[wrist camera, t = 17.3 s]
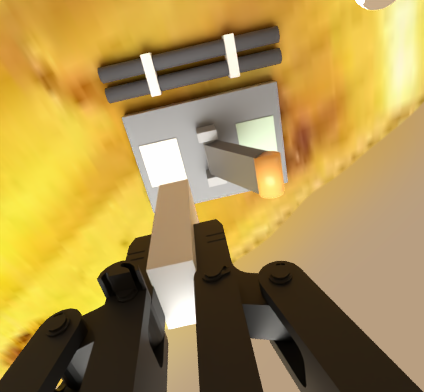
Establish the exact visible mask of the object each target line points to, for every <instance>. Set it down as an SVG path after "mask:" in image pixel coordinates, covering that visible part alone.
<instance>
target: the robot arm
mask: <svg viewBox="0 0 424 392" xmlns="http://www.w3.org/2000/svg"><path fill="white" fill-rule="evenodd" d="M97 280H98V282H99V284H100V286H101V288H102V290H103V292H104V294H105V296H106V298H107V299H106V302H105V305H103V306H101V307H100V308H98V309H96V310H94V311H91V312H89V313H87V314H85V315H83V316H82V315H81V313H80V312H79V311H78V310H77V309H65V310H62V311H60V312H57V313H55V314H54V315H52V316H51V317H49V318H48V319H47V320H46V321H45V322H44V323H43V324H42V325H41V326H40V327H39V329H38V330H37V331H36V333H35V334H34V335H33V337H32V338H31V339H30V341H29V342H28V343H27V345H26V346H25V347H24V349H23V350H22V351H21V353H20V354H19V356H18V357H17V358H16V360H15V361H14V362H13V364H12V365H11V366H10V368H9V369H8V370H7V372H6V373H5V374H4V376H3V377H2V378H1V380H0V392H167V365H168V339H167V336H166V334H165V331H164V330H165V321H166V323H167V326H168V329H173V328H177V327H181V326H186V325H190V324H195V323H196V333H197V351H198V368H199V386H200V392H263V389H262V385H261V381H260V377H259V373H258V368H257V364H256V360H255V356H254V352H253V347H252V344H251V339H250V338H255V339H267V340H270V343H271V344H272V346H273V348H274V349H275V351H276V353H277V354H278V356H279V357H280V359H281V361H282V362H283V364H284V365H285V367H286V369H287V370H288V372H289V374H290V375H291V377H292V379H293V380H294V382H295V383H296V385H297V386H298V388H299V390H300V391H301V392H423V391H422V390H421V389H420V388H419V387H418V386H417V385H416V384H415V383H414V382H412V380H411V379H410V378H409V377H408V376H407V375H406V374H405V373H404V372H403V371H402V370H401V369H400V368H399V367H398V366H397V365H396V364H395V363H394V362H393V361H392V360H391V359H390V358H389V357H388V356H387V355H386V354H385V353H384V352H383V351H382V350H381V349H380V348H379V347H378V346H377V345H376V344H375V343H374V342H373V341H372V340H371V339H370V338H369V337H368V336H367V335H366V334H365V333H364V332H363V331H362V330H361V329H360V328H359V327H358V326H357V325H356V324H355V323H354V322H353V321H352V320H351V319H350V318H349V317H348V316H347V315H346V314H345V313H344V312H343V311H342V310H341V309H340V308H339V307H338V306H337V305H336V304H335V303H334V302H333V301H332V300H331V299H330V298H329V297H328V296H327V295H326V294H325V293H324V292H323V291H322V290H321V289H320V288H319V287H318V286H317V285H316V284H315V283H314V282H313V281H312V280H311V279H310V278H309V277H308V276H307V274H306V273H305V272H303V270H302V269H301V268H299V267H298V266H297V265H295V264H294V263H290V262H287V261H275V262H272V263H269V264H267V265H265V266H264V267H263V268H262V269H261V270H260V272H259V273H246V272H243V271H240V270H238V269H236V268H235V267H234V266H233V264H232V262H231V258H230V254H229V250H228V246H227V242H226V238H225V233H224V229H223V225H222V224H221V223H220V222H219V221H218V220H216V219H215V220H210V221H206V222H201V223H199V220H198V216H197V213H196V209H195V205H194V201H193V197H192V193H191V189H190V185H189V182H188V179H185V180H181V181H176V182H172V183H167V184H163V185H159V189H158V196H157V202H156V209H155V215H154V222H153V228H152V234H151V235H147V236H142V237H138V238H135V240H134V241H133V242H132V243H131V245H130V246H129V249H128V253H127V257H126V261H120V262H117V263H114V264H112V265H111V266H109V267H107V268H106V269H105V270H104V271H103V272H101V273H100V275H99V277H98V278H97ZM61 378H62V380H63V381H62V383H61V385H60V386H59V387H58V388H57V389H55V388H56V386H57V384H58V383H59V381H60V379H61Z"/></svg>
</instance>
